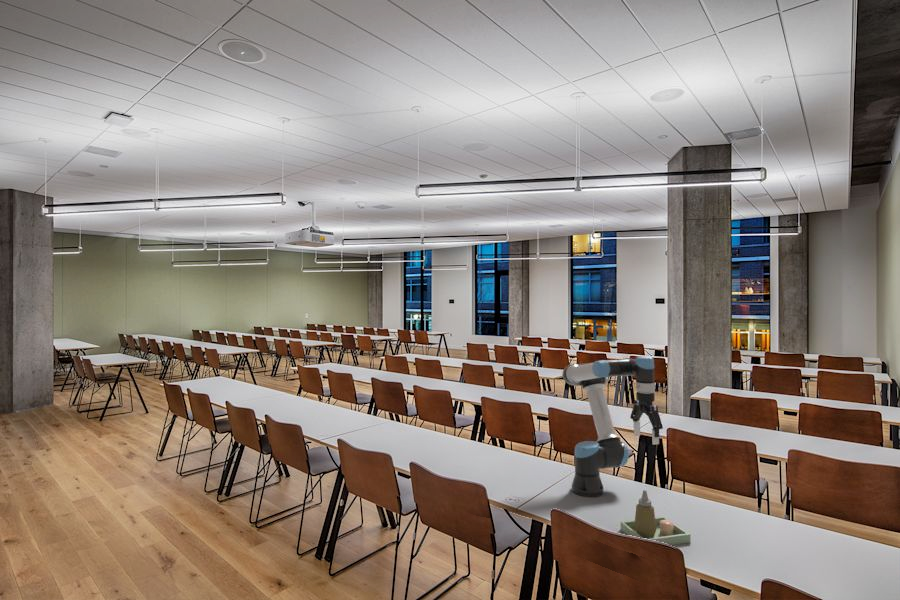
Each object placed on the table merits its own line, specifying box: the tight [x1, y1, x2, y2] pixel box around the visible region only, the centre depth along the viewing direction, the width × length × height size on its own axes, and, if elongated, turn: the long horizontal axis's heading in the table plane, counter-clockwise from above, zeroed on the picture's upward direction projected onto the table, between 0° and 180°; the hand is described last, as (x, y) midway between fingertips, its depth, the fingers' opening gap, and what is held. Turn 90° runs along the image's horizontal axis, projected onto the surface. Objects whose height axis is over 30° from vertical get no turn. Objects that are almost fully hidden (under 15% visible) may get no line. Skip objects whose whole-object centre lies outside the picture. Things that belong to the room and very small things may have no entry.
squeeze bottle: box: [634, 490, 656, 539], centre depth 194 cm, size 8×8×18 cm
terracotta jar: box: [660, 519, 674, 536], centre depth 196 cm, size 5×5×4 cm
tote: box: [619, 516, 691, 546], centre depth 195 cm, size 16×20×4 cm
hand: (646, 440), depth 218 cm, fingers open, 13 cm apart
